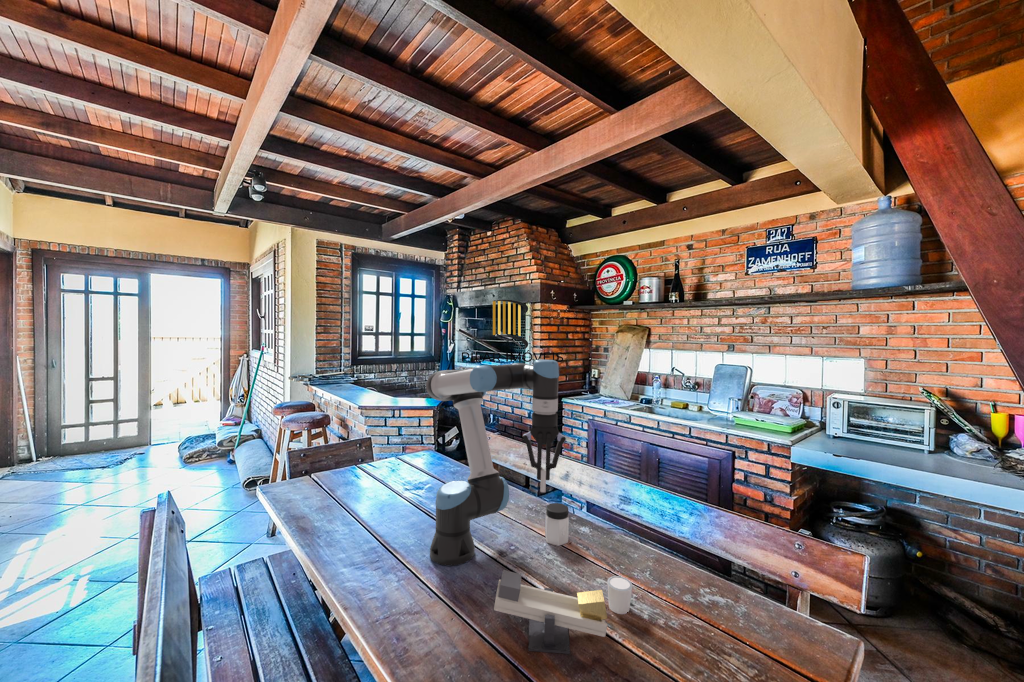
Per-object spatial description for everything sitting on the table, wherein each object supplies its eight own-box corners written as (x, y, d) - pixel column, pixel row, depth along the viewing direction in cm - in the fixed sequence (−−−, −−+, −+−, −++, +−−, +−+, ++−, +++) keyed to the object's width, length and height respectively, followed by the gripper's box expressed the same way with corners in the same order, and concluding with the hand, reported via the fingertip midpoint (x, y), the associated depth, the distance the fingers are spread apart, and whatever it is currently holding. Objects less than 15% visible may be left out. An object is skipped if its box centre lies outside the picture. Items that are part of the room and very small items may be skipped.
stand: (528, 650, 99) (529, 620, 99) (529, 610, 113) (530, 584, 113) (570, 653, 99) (570, 623, 99) (566, 613, 113) (566, 586, 113)
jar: (554, 548, 146) (555, 515, 145) (540, 538, 153) (540, 506, 152) (573, 541, 151) (574, 509, 150) (558, 531, 158) (559, 501, 157)
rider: (578, 604, 103) (604, 601, 103) (576, 592, 108) (601, 589, 107) (581, 621, 103) (607, 618, 103) (579, 609, 108) (604, 606, 107)
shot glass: (603, 599, 119) (604, 575, 119) (626, 598, 120) (627, 575, 119) (611, 616, 112) (611, 591, 112) (635, 615, 113) (636, 590, 112)
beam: (493, 611, 102) (498, 587, 102) (497, 588, 111) (501, 566, 111) (605, 638, 101) (610, 614, 101) (599, 613, 110) (604, 591, 109)
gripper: (522, 413, 119) (520, 494, 120) (567, 415, 118) (565, 496, 119) (523, 408, 126) (521, 484, 127) (566, 410, 126) (564, 486, 126)
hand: (542, 490), depth 123 cm, fingers closed
